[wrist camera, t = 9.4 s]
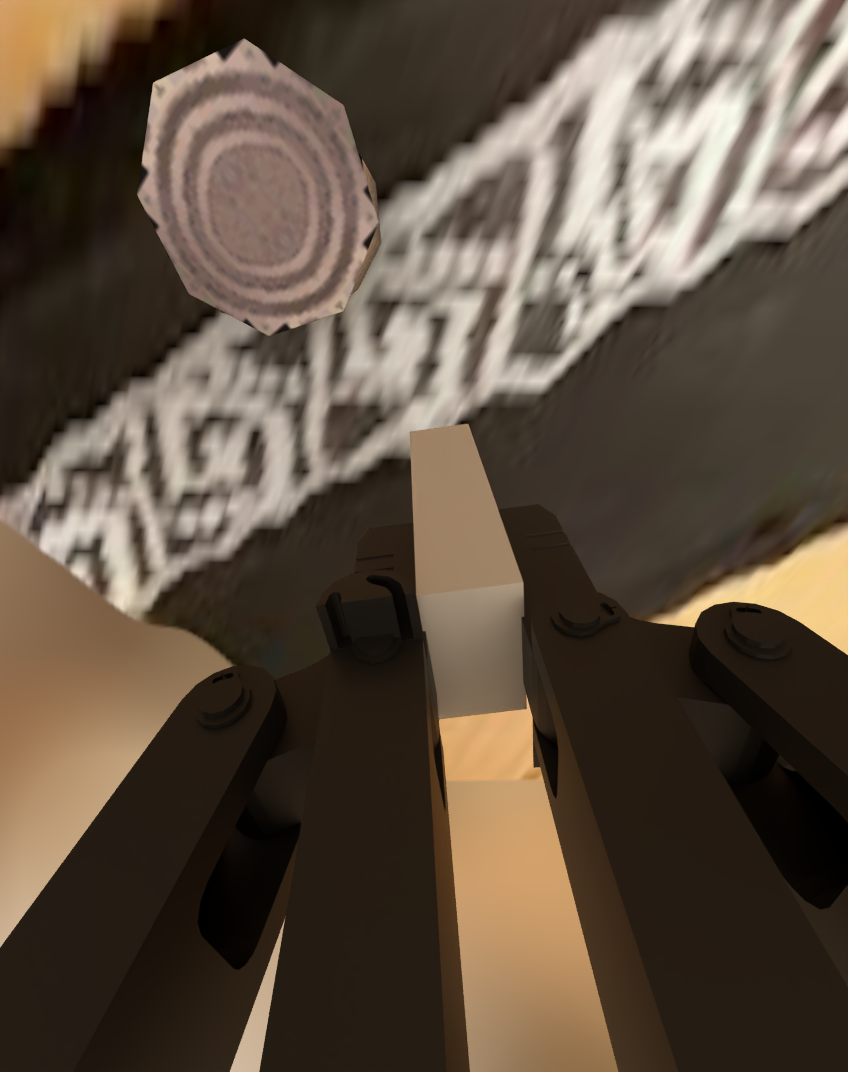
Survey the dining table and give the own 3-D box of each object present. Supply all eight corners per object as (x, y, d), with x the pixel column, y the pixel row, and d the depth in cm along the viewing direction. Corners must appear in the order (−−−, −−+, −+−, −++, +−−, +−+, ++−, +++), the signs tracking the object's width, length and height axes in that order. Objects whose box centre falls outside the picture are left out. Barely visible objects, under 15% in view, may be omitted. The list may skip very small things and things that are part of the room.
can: (408, 271, 35) (408, 282, 25) (273, 332, 37) (222, 366, 27) (338, 77, 30) (301, -12, 19) (184, 161, 32) (76, 120, 21)
